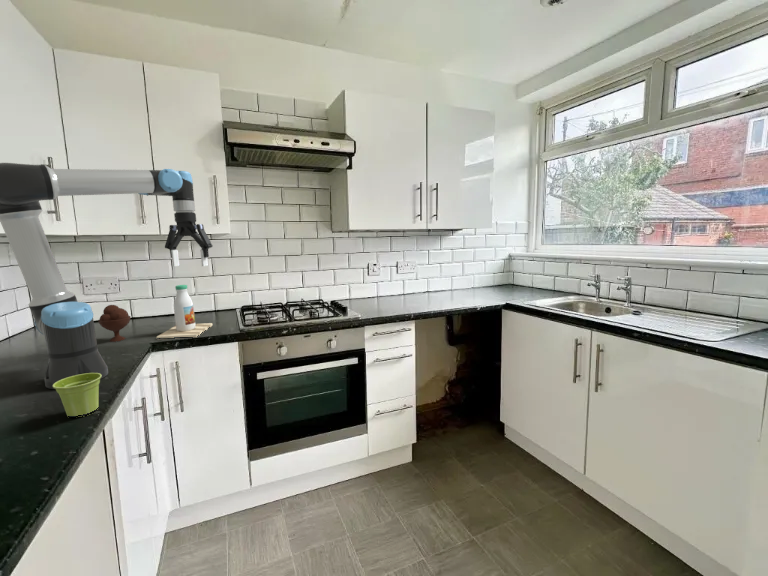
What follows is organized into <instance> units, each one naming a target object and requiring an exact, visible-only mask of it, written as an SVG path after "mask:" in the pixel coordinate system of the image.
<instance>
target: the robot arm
mask: <svg viewBox="0 0 768 576" xmlns="http://www.w3.org/2000/svg"><path fill="white" fill-rule="evenodd" d="M129 194H131V195H132V194H135V195H136V194H138V195H142V196H147V197H148V196H160V197H161V196H163V197H166V196H167V197H171V199H172V207H173V211H174V213H173V215H174V222H175V223H176V224H170V225H169V227H168V230H169V231H168V234H167V238H166V242H165V244H164V248H165V249H168V250H169V253H170V258H171V260H172V261H171V262H172V267H178V266H179V267H180V258H179V257H180V256H179V250H178V248H177V247H178V246H179V244H180V242H181V241H182V239H183V238H184V237H192V238H193V240H194V241H195V242H196V243H197V245H198V246H199V247H200V248H201V249H200V260H201V261H200V263H201V267H208V266H209V261H208V258H209V257H210V255H209V249H211V248H213V244H212V242H211V240H210V238H209V237H208V234H207V233H206V230H205V227H204V224H203V223H198V224H197V223H196V222H197V216H196V215H197V213H195V212H196V205H195V196H194V194H195V193H194V182H193V177H192V173H190V172H189V171H186V170H175V169H172V168H163V169H160V170H159V169H103V168H102V169H100V168H99V169H97V168H95V169H90V168H88V169H86V168H83V169H81V168H79V169H78V168H74V169H73V168H51V167H49V166H48V165H46V164H29V163H27V164H26V163H14V162H0V224H1V226H2V229H3V232H4V234H5V236H6V239H7V241H8V244H9V246H10V248H11V251H12V252H13V255H14V257H15V259H16V261H17V264H18V267H19V269H20V272H21V274H22V277H23V279H24V281H25V284H26V286H27V289H28V290H29V293H30V295H31V300H30V302H29V303H28V307H29V309H30V312H31V314H32V317H33V321H34V322H33V323H34V326H35V328H36V330H37V331H38V332H39V333H40V334H41V335H43V336H44V337H45V344H46V351H47V355H48V356H47V357H48V364H47V367H46V371H45V376H44V385H45V388H47V389H50V390H51V389H52V390H56V389H55V388H53V384H54V383H56V382H57V381H59V380H62V379H64V378H68V377H71V376H75V375H80V374H86V373H100V374H101V375H102V377H101V378H100V380H102V379H103V378H105V377H107V375H108V374H109V369H108V368H109V367H108V365H107V364H106V362H105V360H104V358H103V357H102V355H101V354H100V352H99V349H98V348H99V347H98V341H97V336H96V335H97V334H96V328H95V322H94V311H92V306H91V305H90V304H89V303H86V302H83V301H78V299H77V297H76V294H75V293H74V292H71V291H69V290H68V289H67V287H66V284H65V282H64V280H63V276H62V274H61V271H60V269H59V267H58V264H57V262H56V259H55V257H54V254H53V251H52V248H51V245H50V242H49V241H48V238H47V235H46V233H45V230H44V227H43V225H42V223H41V220H40V218H39V217H40V215H41V213H42V212H43V208H42V206H41V204H40V201H41V202H42V201H52V200H53V201H54V200H55V199H57V198H58V197H64V196H65V197H66V196H67V197H69V196H70V197H71V196H74V197H75V196H97V195H98V196H100V195H129Z"/></svg>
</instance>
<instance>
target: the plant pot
mask: <svg viewBox="0 0 768 576" xmlns="http://www.w3.org/2000/svg"><path fill="white" fill-rule="evenodd" d="M101 377H102V375H101V374H100V373H86V374H80V375H75V376H71V377H68V378H64V379H62V380H59V381H57V382H56V383H54V384H53V388H55V389H54V390H55V391H56V393H57V394H58V395H59V398H60V399H61V403H62V405H63V409H64V411H65V414H66V416H67V417H68V416H78V415H83V414H87V413H90V412H92V411H94V410H96V409H97V408H98V407H99V401H100V399H99V397H100V395H99V394H100V393H99V390H100V389H99V388H100V383H101V379H100V378H101ZM98 409H99V408H98ZM98 409H97V410H98ZM78 417H79V416H78Z"/></svg>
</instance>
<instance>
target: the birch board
mask: <svg viewBox="0 0 768 576" xmlns="http://www.w3.org/2000/svg"><path fill="white" fill-rule="evenodd" d="M195 326H196V327H195V329H193V330H189V331H177V330H176V325H174V326H173V327H170V328H169V329H168V330H166V331H163V332H162V333H161V334H159V335H157V336H156V339H157V338H174V337H193V338H198V337H199V336H201V335H202V334H203V333H205V332H206V331H208V330H209V329H210V328H212V326H213V322H209V323H205V322H204V323H195ZM209 327H210V328H209ZM208 328H209V329H208ZM205 330H206V331H205ZM204 331H205V332H204ZM202 332H203V333H202ZM201 333H202V334H201ZM200 334H201V335H200ZM198 335H199V336H198ZM197 336H198V337H197Z"/></svg>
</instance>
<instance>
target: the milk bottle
mask: <svg viewBox="0 0 768 576" xmlns="http://www.w3.org/2000/svg"><path fill="white" fill-rule="evenodd" d="M174 288H175V292H176V294H175V295H176V296H175V299H174V301H173V311H174V312H173V313H174V321H175V326H176V330H177V331H189V330H193V329H195V327H196V326H195V324H196V319H195V318H196V316H195V310H194V303H193V300H192V298H191V296H190V295H189V292H188V285H187V284H179V285H178V284H177V285H175V287H174Z"/></svg>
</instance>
